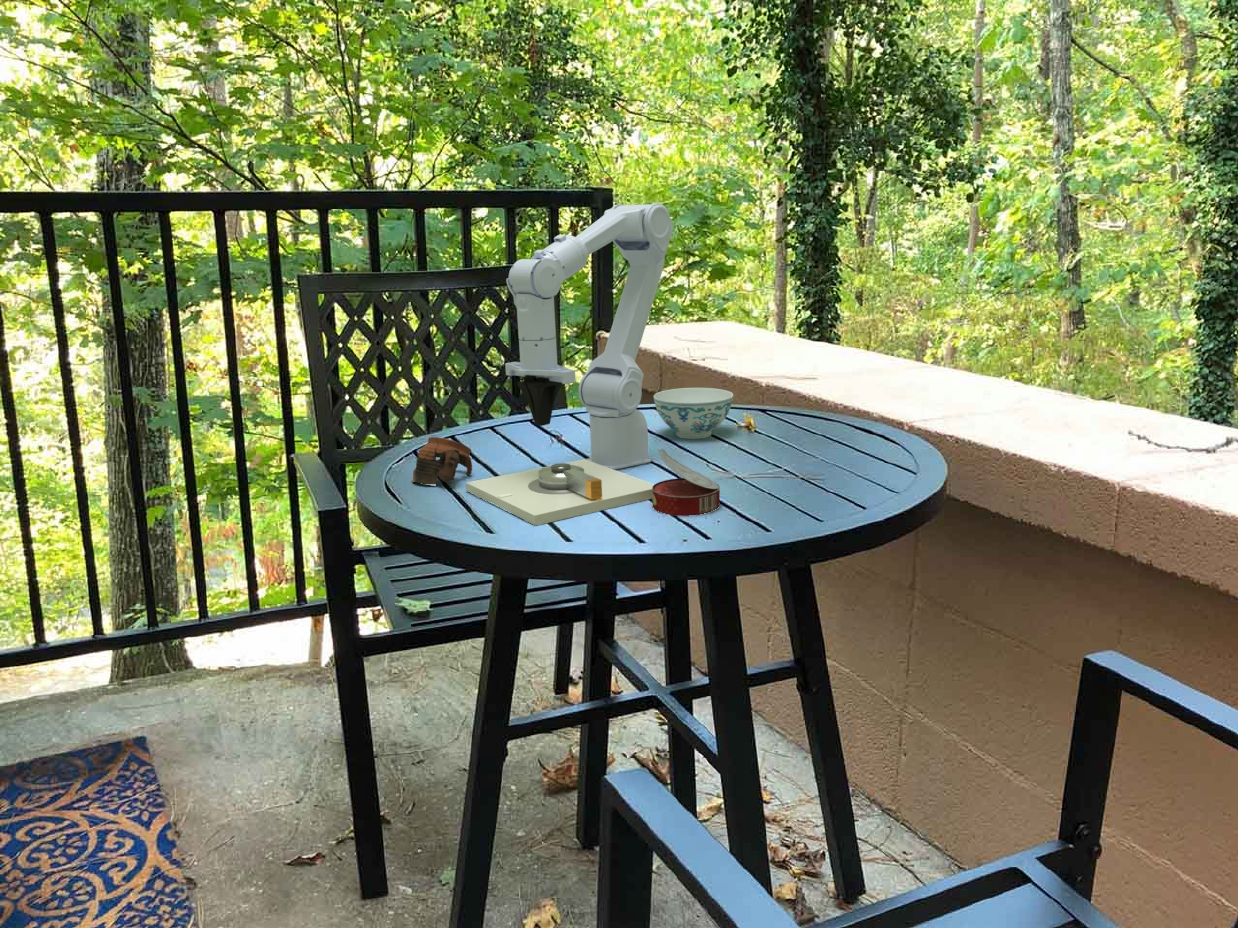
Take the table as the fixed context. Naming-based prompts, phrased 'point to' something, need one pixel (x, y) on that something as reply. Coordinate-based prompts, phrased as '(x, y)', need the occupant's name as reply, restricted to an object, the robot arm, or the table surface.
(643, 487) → the panel
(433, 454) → the brown ridged arch
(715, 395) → the chinaware
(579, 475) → the dial
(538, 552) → the table surface
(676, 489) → the canned food
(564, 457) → the table surface
